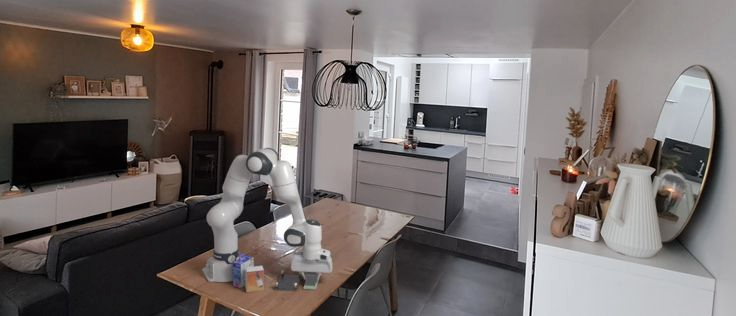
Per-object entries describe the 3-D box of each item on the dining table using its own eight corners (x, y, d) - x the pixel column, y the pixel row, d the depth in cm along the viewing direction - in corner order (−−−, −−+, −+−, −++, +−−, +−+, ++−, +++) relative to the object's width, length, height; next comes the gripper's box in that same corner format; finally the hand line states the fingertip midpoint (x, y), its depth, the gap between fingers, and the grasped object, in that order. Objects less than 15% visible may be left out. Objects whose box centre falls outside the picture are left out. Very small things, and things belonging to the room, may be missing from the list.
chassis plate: (274, 289, 198) (274, 283, 197) (281, 276, 212) (281, 269, 212) (296, 291, 198) (296, 284, 197) (302, 277, 212) (302, 270, 212)
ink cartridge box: (245, 277, 209) (245, 250, 206) (254, 280, 207) (254, 252, 204) (232, 286, 200) (231, 257, 197) (241, 288, 198) (241, 259, 195)
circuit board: (303, 289, 199) (303, 277, 198) (306, 279, 209) (307, 268, 208) (315, 289, 199) (316, 278, 198) (318, 280, 209) (319, 269, 208)
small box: (246, 293, 194) (246, 271, 192) (245, 287, 199) (245, 267, 197) (264, 290, 197) (264, 269, 195) (262, 285, 202) (262, 265, 200)
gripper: (289, 254, 199) (289, 281, 201) (332, 256, 199) (331, 283, 201) (292, 249, 205) (291, 275, 207) (333, 251, 205) (332, 278, 207)
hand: (311, 279), depth 204 cm, fingers closed on circuit board, 4 cm apart
